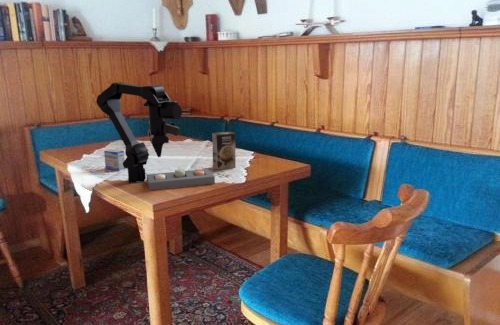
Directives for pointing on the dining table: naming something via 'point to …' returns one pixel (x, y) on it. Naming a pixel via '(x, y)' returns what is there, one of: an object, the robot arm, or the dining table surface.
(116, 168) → the medicine box
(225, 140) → the coffee box
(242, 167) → the dining table surface
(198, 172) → the orange rounded piece
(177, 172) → the sage button
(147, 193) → the dining table surface
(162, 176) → the cream button
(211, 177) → the button panel
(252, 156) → the dining table surface
